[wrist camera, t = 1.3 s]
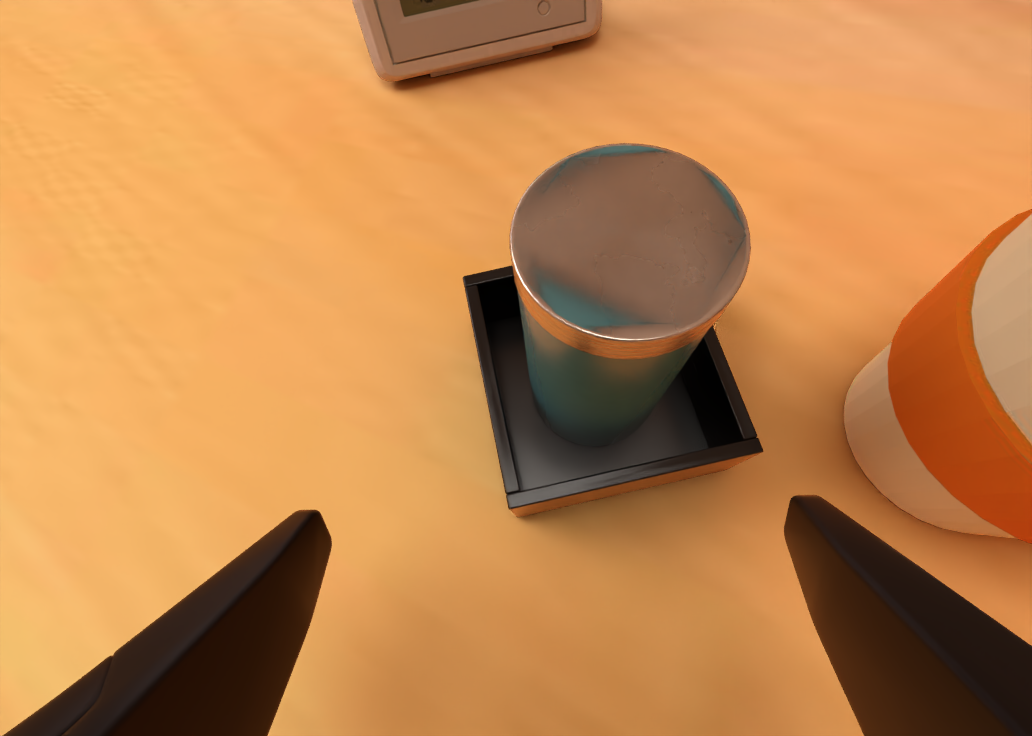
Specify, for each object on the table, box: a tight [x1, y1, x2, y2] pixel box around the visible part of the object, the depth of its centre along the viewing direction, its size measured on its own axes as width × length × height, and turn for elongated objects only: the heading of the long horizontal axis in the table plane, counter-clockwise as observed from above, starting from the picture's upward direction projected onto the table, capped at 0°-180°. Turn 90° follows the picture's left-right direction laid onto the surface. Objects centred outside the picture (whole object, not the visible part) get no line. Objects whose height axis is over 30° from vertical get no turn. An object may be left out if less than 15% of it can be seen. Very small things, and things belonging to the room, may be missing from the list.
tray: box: [463, 266, 763, 517], centre depth 23 cm, size 11×10×4 cm
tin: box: [510, 143, 751, 446], centre depth 19 cm, size 6×6×12 cm
